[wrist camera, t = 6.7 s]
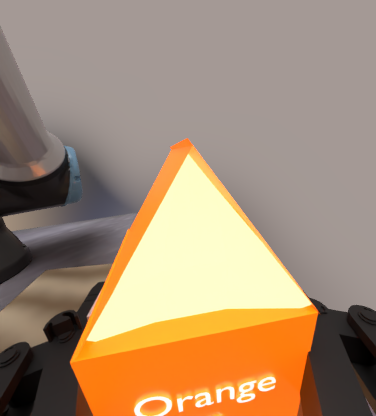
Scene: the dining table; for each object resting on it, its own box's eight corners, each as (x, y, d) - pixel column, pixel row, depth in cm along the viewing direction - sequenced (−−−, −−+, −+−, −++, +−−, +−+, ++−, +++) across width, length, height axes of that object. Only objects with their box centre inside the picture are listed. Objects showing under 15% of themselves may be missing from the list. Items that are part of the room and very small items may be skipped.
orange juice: (147, 545, 9) (-37, 155, 3) (154, 359, 18) (110, 152, 11) (283, 502, 10) (369, 122, 4) (229, 344, 18) (227, 142, 12)
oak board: (47, 274, 32) (46, 270, 32) (134, 265, 33) (133, 261, 32) (-68, 385, 17) (-74, 378, 17) (97, 366, 17) (94, 359, 17)
